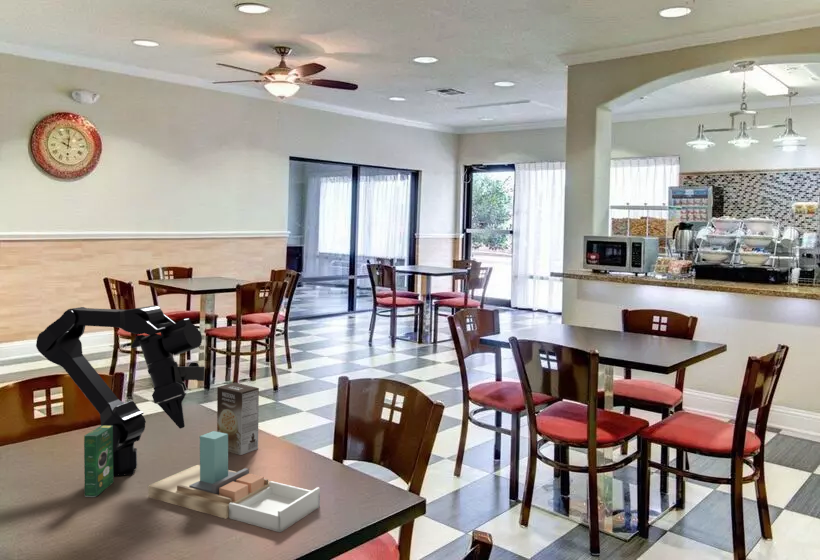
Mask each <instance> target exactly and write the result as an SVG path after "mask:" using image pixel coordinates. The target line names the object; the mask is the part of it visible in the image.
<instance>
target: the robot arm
mask: <svg viewBox="0 0 820 560" xmlns="http://www.w3.org/2000/svg"><path fill="white" fill-rule="evenodd" d="M86 326H87V327H103V328H117V329H121V330H123V331H124V332H126V333H129V334H134V335H137V336H135V339H134V341H133V342H132V344H131V345H130V347H131V348H132V349H134V348H139V347H140V349H141V352H142V355H143V357H144V360H145V363H146V367H147V371H148V375H149V377H150V379H151V382H152V384H153V385H152V386H153V393H152V394H151V395H152V399H153V403H154V404H157V405H158V406H159V407H160V408H161V410H163V412H164V413H165V414H166V415H167V416H168V417H169V418H170V420H171V421H172V422H173V423H174V424H175V425H176V426H177V428H179V429H183V428H185V426H186V425H185V416H184V408H183V402H184V401H183V400H184V399H185V397H186V396H187V392H186V391H187V390H188V388H187V386H186V383H185V381H197V382H204V381H205V369H206V368H205V366H200V365H199V363H198V362H194V361H193V362H191V361H190V363H189V365H188V366H179V365H178V361H176V360H175V358H174V356H178V355H181V354H183V353H186V352H190V351H193V350H194V349H197V348H200V347H201V345H202V341H203V339H202V338H203V337H202V336H203V335H202V333H201V331H200V330H199V329H198V327H197V326H196V325H195V324H194V323H192V322H191V319H190V318H189V317H188V318H184V319H181V320H179V321H177V322H175V321H174V320H173V319H171V318H170V317H168V316H167V315H166V314H164V312H163V310H162V308H161V307H159V306H158V305H148V306H142V307H137V308H131V309H129V308H128V309H111V308H95V307H94V308H90V307H84V306H80V307H74V308H68V309H66V310H65V311H64V312H63V313H62V314H61V316H60V317H59V318H57V319H56V320H54V321H53V322H52V323H51V324H49V325H48V326H47V327H46V328H45V329H44V330H43V331H40V333H38V335H37V339H36V345H35V346H36V350H37V351H38V353H40V354H41V355H42V356H43V357H44V358H45V359H46V360H47V361H49V362H50V363H52V364H55V365H57V366H59V367H61V368H62V369H63V370H64V371H65V372H66V373H67V375H68V376H69V377H70V378H71V379H72V381H73V382H74V384H75V385H76V386H77V387H78V388H79V389H80V391H81V393H83V395H84V396H85V398H86V399H87V400H88V401H89V403H91V405H92V406H93V407H94V408H95V410H96V411H97V412H98V413H99V418H100V419H99V420H100V426H102V425H110V426H113V477H118V476H119V477H120V476H131V475H134V473H135V470H136V469H137V467H138V449H137V448H136V447H135V442H139V441H141V440H140V439H141V437H142V434H143V433H144V431H145V430H146V429H145V428H146V423H147V422H146V419H145V417H144V412H143V411H142V410H141V409H139V408H138V407H139V406H137V404H136V403H135V402H134V400H130V401H127V402H124V401H121V400H120V399H119V398H118V397H117V395H116V394H115V393H114V392H113V391H112V389H111V388H110V387H109V385H108V384H107V382H105V380H104V379H103V378H102V377H101V376H100V374H99V372H97V370H96V369H95V368H94V366H92V364H91V363H90V362H89V361H88V359H87V358H86V356H85V355H84V354H83V345H82V341H81V340H80V338H81V337H82V336H83V334H85V330H86ZM144 334H146V336H145V335H144Z"/></svg>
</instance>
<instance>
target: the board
mask: <svg viewBox="0 0 820 560" xmlns="http://www.w3.org/2000/svg"><path fill="white" fill-rule="evenodd" d="M228 471H230V472H234V473H236V472H237V471H234V470H230V469H228ZM198 481H200V464H195V465H193V466H191V467H189V468H186V469H183V470H182V471H179V472H177V473H175V474H172V475H170V476H167V477H164V478H163V479H161V480H158V481H156V482H153V483H151V484H149V485H148V487H147V489H148V491H147V495H148V498H150V499H153V500H157V501H160V502H165V503H168V504H172V505H175V506H179V507H182V508H185V509H190V510H192V511H196V512H200V513H203V514H207V515H211V516H214V517H218V518H220V519H225V520H226V519H229V503H231V502H232V503H236V504H238V503H240V502H242V501H243V500H245V499H247V498H249V497H251V496H253V495H255V494H256V493H258V492H260V491H262V490H264V489H266V488H268V487H269V482H270V481H269V479H268V478H265V477H264V486H263V487H262V488H260V489H258V490H256V491H254V492H252V493H250V492H248V495H247V496H245V497H243V498H241V499H239V500H237V501H235V502H234V501H232V498H229V497H225V496H221V495H217V494H213V493H210V492H206V491H202V490H198V489H194V488H190V487H189V485H192V484H194V483H196V482H198Z"/></svg>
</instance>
